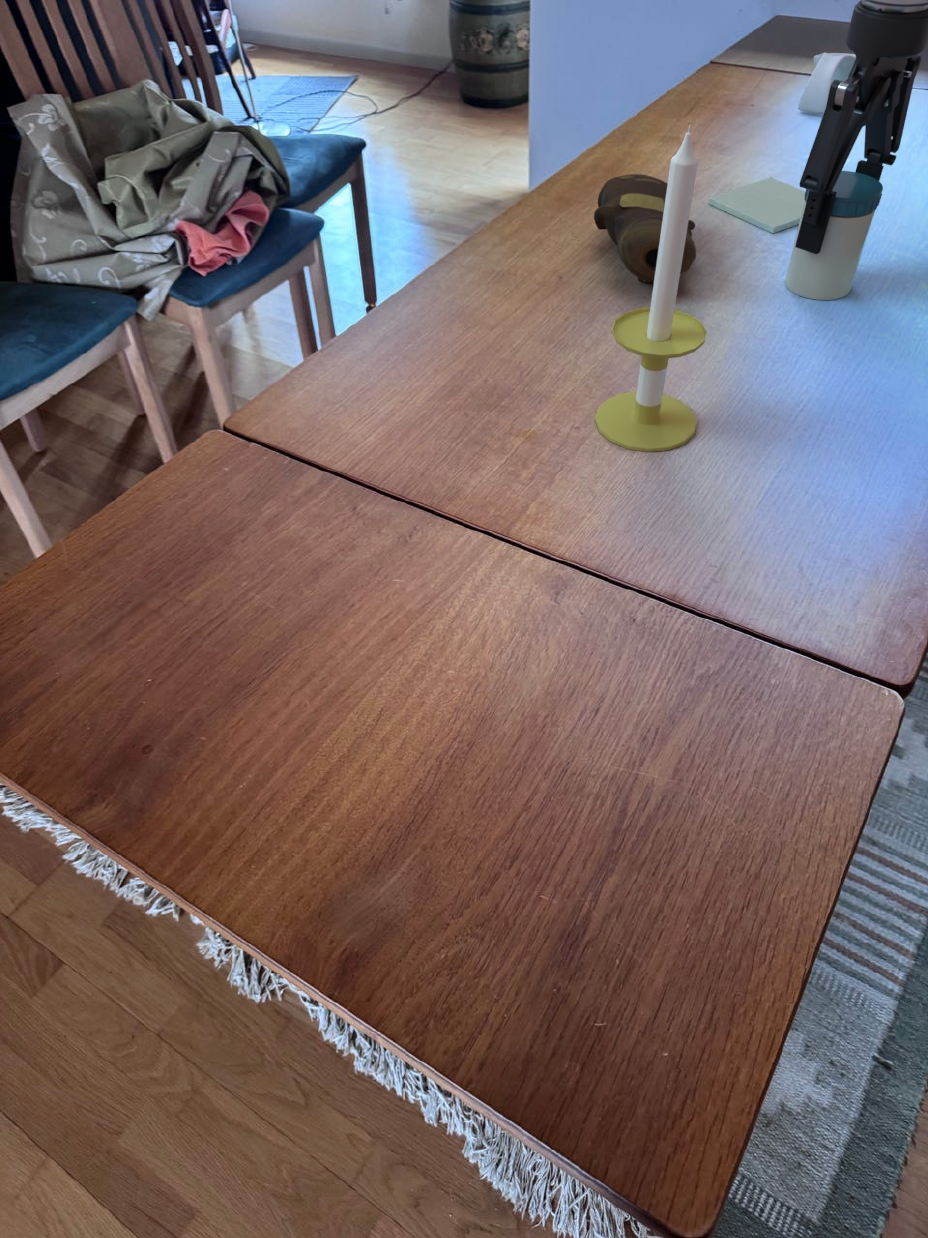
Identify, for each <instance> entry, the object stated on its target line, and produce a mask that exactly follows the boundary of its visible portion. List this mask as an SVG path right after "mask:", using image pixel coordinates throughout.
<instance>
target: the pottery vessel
mask: <svg viewBox="0 0 928 1238" xmlns="http://www.w3.org/2000/svg"><path fill="white" fill-rule="evenodd" d="M667 185H668V182H666V181H664V180H662V179H660V178H658V177H654V176H651V175H647V174H642V173H641V174H639V173H638V174H637V173H633V174H631V173H630V174H624V175H620V176H615V177H612V178H610V179H608V180H606V182H605V183H604V184H603V186H602V188H601V190H600V192H599V193H598V196H597V208H596V209H595V210H594V212H593V220H594V223H595V225H596V227H597V229H598V230H599V231H601V230H606V231H607V234H608V236H609V237H610V239H611V241H612V242H613V243H614V244H615V245H616V246H617V252H618V255H619V259H620V260H621V262H622V264H623V265H624V266H625V268H626V269H627V270H628V271H629V272H630V273H631V274H633V275H634V276H635V277H637V281H638V282H645V283H650V282H654V279H655V271H656V264H657V257H658V250H659V242H660V235H661V228H662V221H663V214H664V206H665V199H666V192H667ZM694 229H696V223H695V221H694V220H691V219H689V221H688V227H687V234H686V240H685V246H684V252H683V259H682V265H681V271H680V276H682V275H684V274H685V273H686V272H687V271H689V270H690V269H691V267H692V266H693V263H694V262H695V260H696V258H697V257H696V256H697V248H696V245H695V242H694V240H693V237H692V236H693V233H692V231H693V230H694Z"/></svg>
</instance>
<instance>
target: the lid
mask: <svg viewBox="0 0 928 1238" xmlns="http://www.w3.org/2000/svg"><path fill="white" fill-rule="evenodd" d="M883 190H884V186H883V184H882V182H880V180H879V181H878V180H876V179H875V178H873V177H871V176H868V175H865V174H861V173H857V172H855V171H850V170H842V171H841V173H840V175H839V178H838V180H837V182H836V184H835V186H834V188H833V190H832V191H835V192H837V193H836V196H835V200H834V204H833V207H832V211H831V215H837V216H860V215H865V214H868V213H871V212H873V211H874V210H875V211H876V210H877V208H878V207H879V205H880V203H881V199H882V196H883ZM809 191H810V190H808V189H805V198H804V200H805V202H807V199H808V195H809Z"/></svg>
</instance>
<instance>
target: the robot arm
mask: <svg viewBox="0 0 928 1238" xmlns="http://www.w3.org/2000/svg"><path fill="white" fill-rule="evenodd" d="M849 22H850V23H849V26H848V30H847V34H846V38H845V44H846V47H847V48H848V49H849V50H850V51H852V52H853V54H855V55H856V60H855V62H854V64H853V67H852V69H851V71H850V73H849V76H848V79H847V80H845V81H840V80H834V81H833V82H832V84H831V86H830V90H829V95H828V100H827V105H826V109H825V112H824V114H822V117H821V121H820V123H819V126H818V129H817V132H816V135H815V137H814V140H813V144H812V147H811V149H810V152H809V155H808V157H807V160H806V163H805V167H804V169H803V172H802V175H801V178H800V181H799V188H802V189H805V190H806V189H808V190H810V191H809V195H808V199H807V202H806V206H805V210H804V214H803V218H802V222H801V226H800V230H799V234H798V238H797V242H796V246H795V247H797V248H799V249H802V250H805V251H808V252H811V253H814V254H818V253H820V251H821V247H822V243H823V240H824V236H825V233H826V229H827V225H828V222H829V218H830V214H831V211H832V207H833V204H834V200H835V196H836V193H837V192H835V191H832V190H833V188H834V186H835V184H836V182H837V180H838V178H839V175H840V173H841V171H843V169H844V168H845V167H844V166H845V165H846V162H847V161H848V158H849V156H850V154H851V152H852V150H853V148H854V146H855V143H856V141H857V139H858V137H859V136H860V133H861V131H862V128H865V129H864V148H863V150H864V151H863V158H864V159H866V160H863V159H861V160H859V161H857V164H856V168H855V171H854V172H857V173H861V174H865V175H868V176H871V177H873V178H875V179H876V180H878V181H879V182H880V179H881V176H882V173H883V170H884V167H885V166H884V165H887V166H893V165H894V163H896V162H895V161H896V160H897V155H896V153H897V152H898V151H899V149H900V146H901V142H902V137H903V133H904V129H905V124H906V120H907V115H908V109H909V105H910V100H911V97H912V91H913V87H914V83H915V79H916V76H917V73H918V71H919V67H920V65H921V62H922V55H919V54H921V53H922V52H924V50H925V48H926V47H927V45H928V0H859V1H858V2H857V3H856V4H855V5H854V6H853V10H852V14H851V18H850V21H849Z"/></svg>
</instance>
